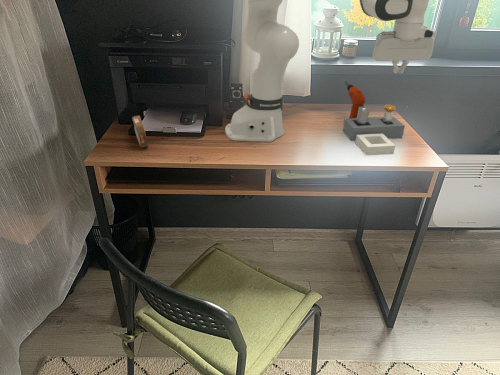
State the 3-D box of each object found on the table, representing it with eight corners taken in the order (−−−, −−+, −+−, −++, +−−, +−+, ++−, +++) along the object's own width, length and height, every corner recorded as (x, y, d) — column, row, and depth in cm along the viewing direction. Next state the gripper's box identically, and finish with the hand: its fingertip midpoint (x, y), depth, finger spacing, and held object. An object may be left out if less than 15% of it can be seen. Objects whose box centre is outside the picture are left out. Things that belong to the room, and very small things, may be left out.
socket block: (351, 140, 140) (353, 128, 137) (342, 130, 147) (344, 118, 144) (401, 138, 142) (404, 125, 140) (390, 128, 150) (393, 116, 147)
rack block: (366, 154, 130) (367, 147, 129) (355, 142, 138) (356, 134, 137) (393, 153, 132) (395, 145, 130) (380, 141, 140) (382, 133, 138)
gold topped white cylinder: (382, 131, 142) (387, 108, 138) (377, 127, 146) (382, 104, 141) (392, 130, 143) (397, 108, 138) (387, 126, 146) (392, 104, 141)
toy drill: (345, 108, 164) (352, 74, 155) (361, 130, 150) (370, 95, 140) (334, 108, 164) (341, 75, 154) (349, 131, 149) (357, 95, 140)
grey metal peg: (356, 137, 142) (361, 109, 136) (352, 133, 145) (357, 105, 140) (366, 137, 143) (371, 109, 137) (362, 132, 146) (367, 105, 140)
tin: (149, 150, 130) (146, 127, 126) (140, 151, 129) (136, 128, 125) (142, 133, 142) (139, 111, 137) (133, 134, 141) (130, 112, 136)
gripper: (381, 33, 122) (373, 76, 129) (440, 32, 124) (429, 74, 132) (373, 29, 127) (366, 71, 134) (430, 28, 129) (419, 69, 137)
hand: (397, 72), depth 133 cm, fingers closed
